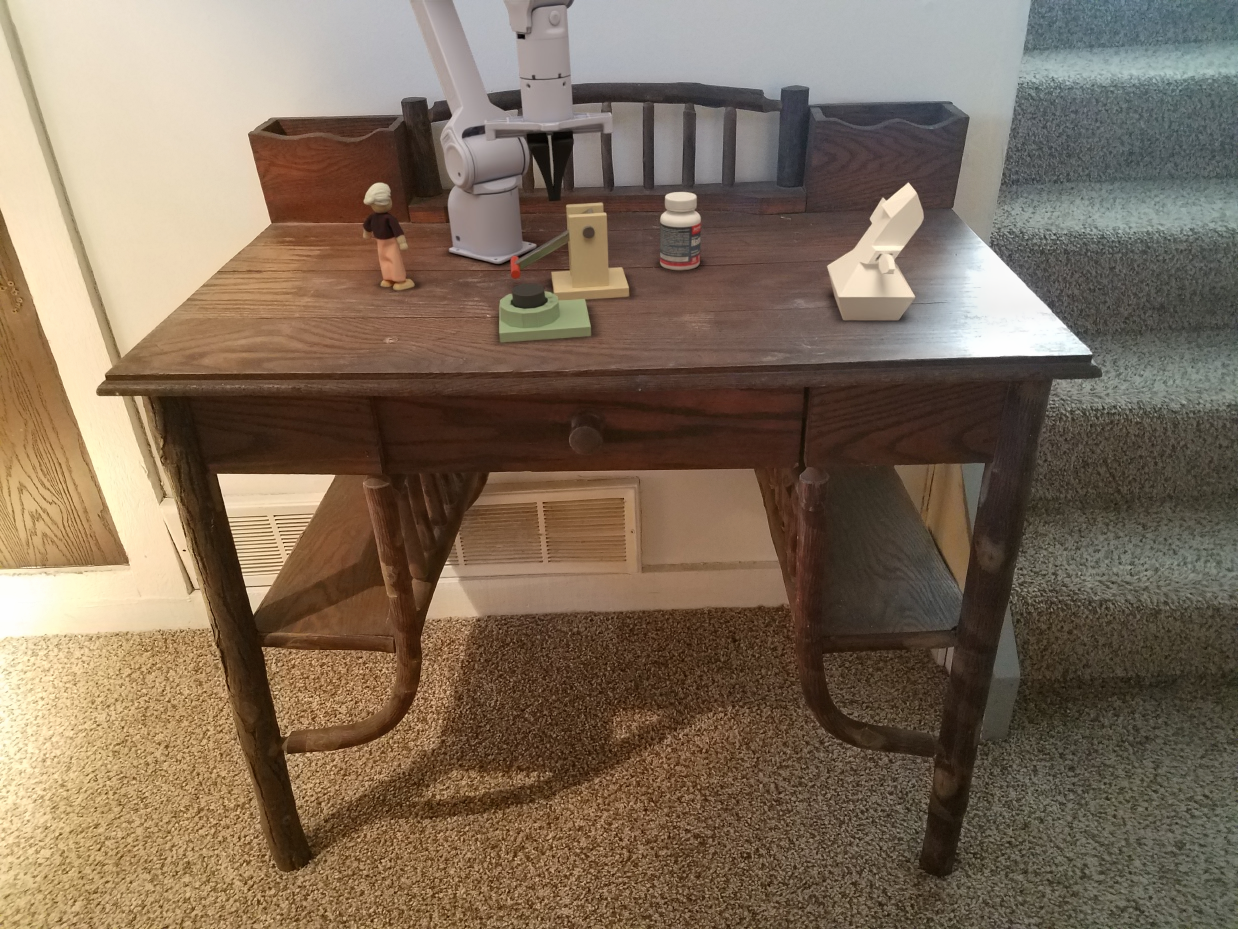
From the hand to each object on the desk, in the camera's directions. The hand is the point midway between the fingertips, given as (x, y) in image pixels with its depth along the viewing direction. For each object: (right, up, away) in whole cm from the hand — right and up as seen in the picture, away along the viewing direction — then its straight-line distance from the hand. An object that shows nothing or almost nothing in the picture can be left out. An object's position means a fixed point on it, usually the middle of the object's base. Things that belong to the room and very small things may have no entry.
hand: (554, 198), depth 104 cm
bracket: (+4, -10, +3) cm, 11 cm away
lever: (0, -6, +1) cm, 6 cm away
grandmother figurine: (-21, -9, +6) cm, 24 cm away
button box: (-1, -16, -5) cm, 17 cm away
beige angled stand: (+36, -14, -4) cm, 39 cm away
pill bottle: (+16, -6, +10) cm, 19 cm away
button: (-2, -14, -7) cm, 16 cm away
